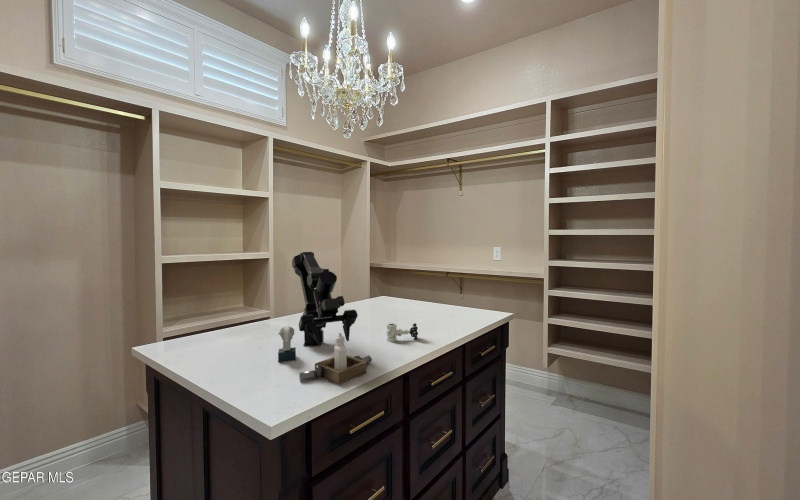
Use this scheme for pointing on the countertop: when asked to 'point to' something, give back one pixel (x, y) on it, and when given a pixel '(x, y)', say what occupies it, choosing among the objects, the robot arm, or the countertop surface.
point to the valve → (399, 332)
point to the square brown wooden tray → (339, 377)
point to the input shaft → (365, 358)
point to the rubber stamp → (286, 345)
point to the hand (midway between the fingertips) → (334, 342)
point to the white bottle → (340, 354)
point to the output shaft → (311, 374)
